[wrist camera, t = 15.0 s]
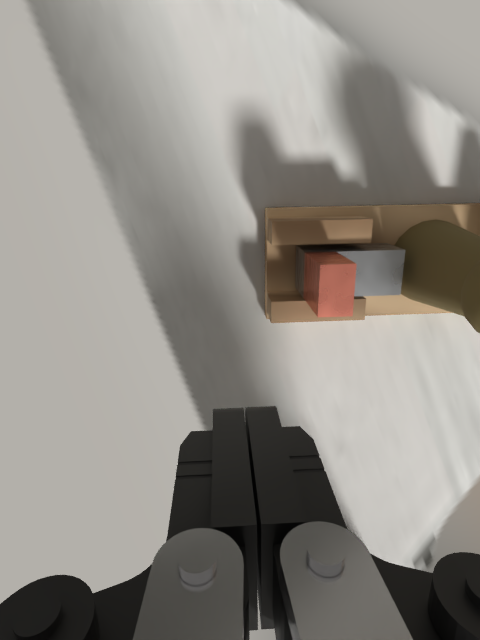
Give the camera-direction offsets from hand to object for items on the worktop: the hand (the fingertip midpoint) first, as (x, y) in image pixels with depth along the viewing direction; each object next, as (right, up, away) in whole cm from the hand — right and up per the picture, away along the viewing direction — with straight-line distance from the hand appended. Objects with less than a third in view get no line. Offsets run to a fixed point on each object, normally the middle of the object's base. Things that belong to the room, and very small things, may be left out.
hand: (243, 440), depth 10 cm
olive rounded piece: (+14, +7, +20) cm, 26 cm away
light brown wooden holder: (+10, +7, +21) cm, 25 cm away
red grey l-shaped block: (+7, +7, +19) cm, 22 cm away
